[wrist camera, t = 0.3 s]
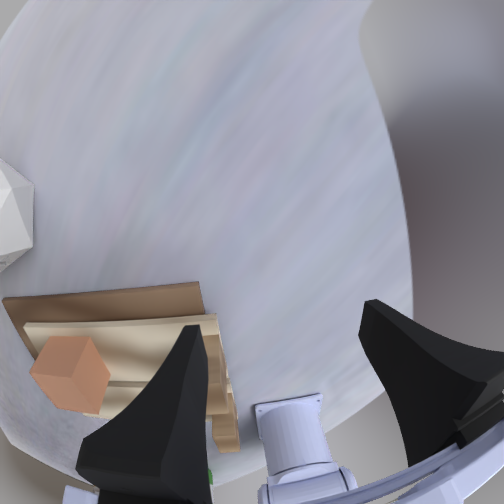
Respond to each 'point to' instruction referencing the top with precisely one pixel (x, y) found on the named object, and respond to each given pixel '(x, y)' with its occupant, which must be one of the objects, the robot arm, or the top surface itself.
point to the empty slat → (222, 424)
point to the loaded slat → (144, 348)
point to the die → (15, 215)
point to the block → (72, 374)
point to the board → (105, 307)
